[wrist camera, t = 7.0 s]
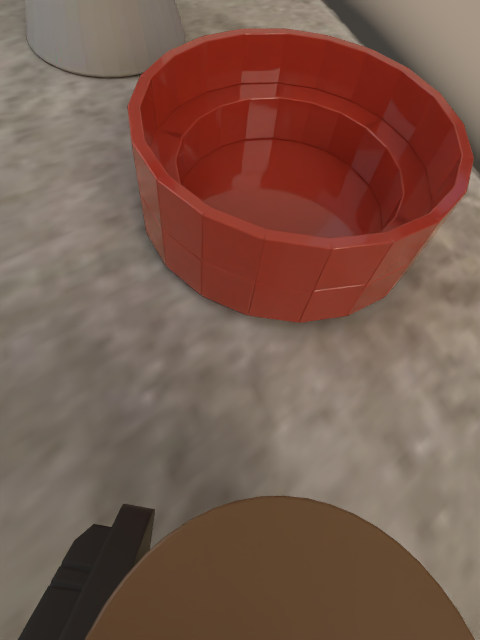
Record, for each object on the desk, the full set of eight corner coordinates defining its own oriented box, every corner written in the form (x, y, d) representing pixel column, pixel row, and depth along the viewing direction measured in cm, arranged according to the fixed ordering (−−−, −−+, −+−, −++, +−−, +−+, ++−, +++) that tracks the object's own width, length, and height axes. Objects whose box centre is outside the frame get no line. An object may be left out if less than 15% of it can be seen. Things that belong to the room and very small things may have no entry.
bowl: (88, 254, 19) (51, 154, 14) (217, 102, 26) (222, 0, 21) (373, 378, 17) (442, 311, 12) (431, 179, 24) (489, 86, 19)
